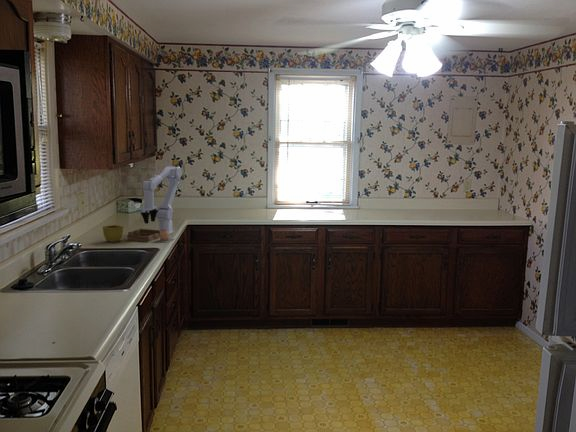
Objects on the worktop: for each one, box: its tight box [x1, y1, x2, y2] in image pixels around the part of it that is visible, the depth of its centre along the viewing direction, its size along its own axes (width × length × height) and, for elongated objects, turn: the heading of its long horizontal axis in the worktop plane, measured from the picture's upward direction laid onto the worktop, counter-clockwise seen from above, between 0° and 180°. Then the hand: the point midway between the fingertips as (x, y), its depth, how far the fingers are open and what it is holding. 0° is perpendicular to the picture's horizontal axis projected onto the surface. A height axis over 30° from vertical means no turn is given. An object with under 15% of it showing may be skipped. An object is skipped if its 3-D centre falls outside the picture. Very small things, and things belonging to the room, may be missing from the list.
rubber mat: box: [153, 238, 176, 244], centre depth 342 cm, size 12×8×1 cm, turn 162°
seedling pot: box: [159, 230, 170, 241], centre depth 341 cm, size 5×5×6 cm
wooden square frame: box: [126, 228, 160, 243], centre depth 346 cm, size 14×14×4 cm
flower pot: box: [102, 224, 124, 243], centre depth 337 cm, size 9×9×9 cm
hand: (149, 222), depth 349 cm, fingers open, 7 cm apart
